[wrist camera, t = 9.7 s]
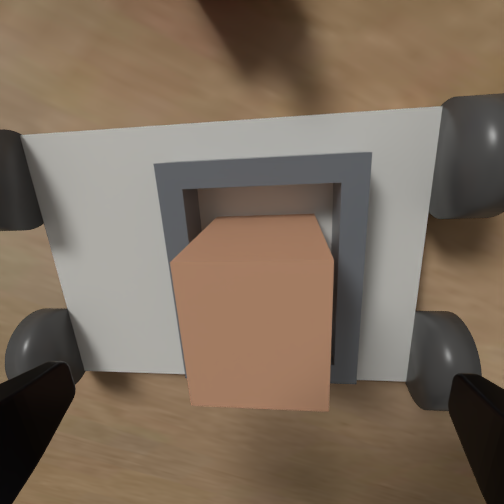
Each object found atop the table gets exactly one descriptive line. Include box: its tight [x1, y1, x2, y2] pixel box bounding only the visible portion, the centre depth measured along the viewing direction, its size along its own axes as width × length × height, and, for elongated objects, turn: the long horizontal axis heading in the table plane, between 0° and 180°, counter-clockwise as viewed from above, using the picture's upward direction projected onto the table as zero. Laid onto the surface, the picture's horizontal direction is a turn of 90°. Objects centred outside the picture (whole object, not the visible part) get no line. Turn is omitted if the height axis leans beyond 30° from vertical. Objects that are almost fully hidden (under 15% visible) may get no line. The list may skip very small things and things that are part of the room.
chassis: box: [0, 93, 504, 411], centre depth 14 cm, size 13×21×4 cm, turn 93°
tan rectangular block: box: [170, 214, 334, 412], centre depth 12 cm, size 5×4×6 cm
